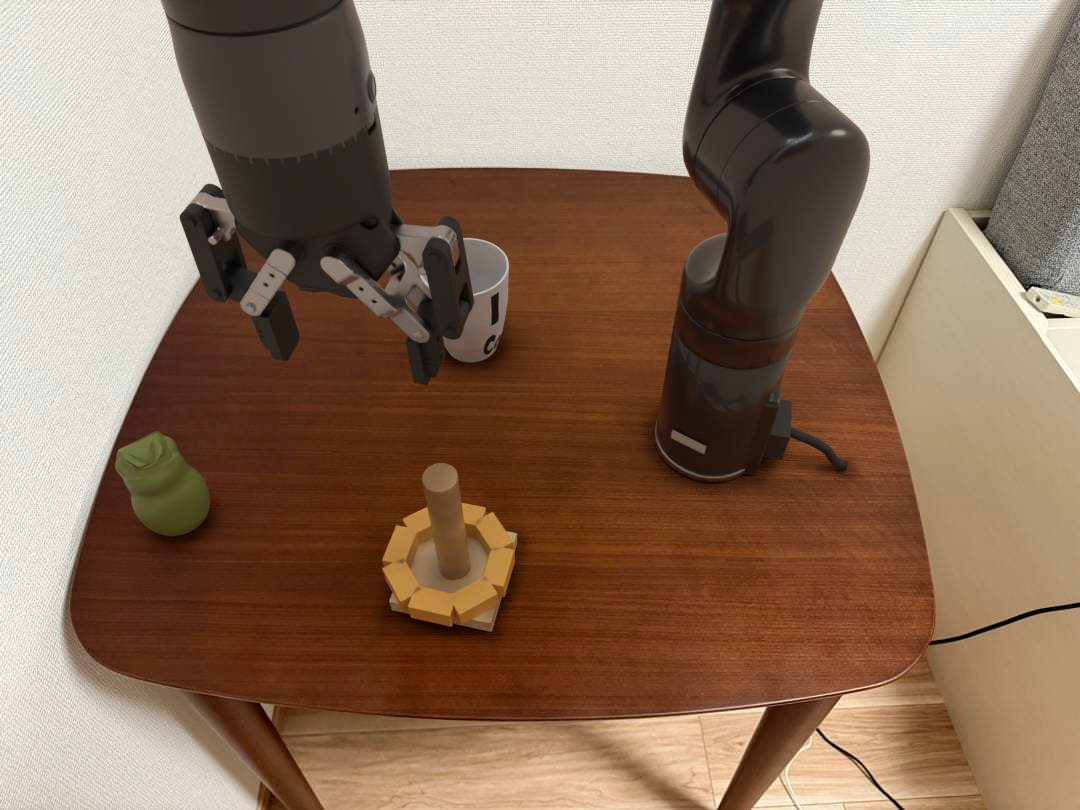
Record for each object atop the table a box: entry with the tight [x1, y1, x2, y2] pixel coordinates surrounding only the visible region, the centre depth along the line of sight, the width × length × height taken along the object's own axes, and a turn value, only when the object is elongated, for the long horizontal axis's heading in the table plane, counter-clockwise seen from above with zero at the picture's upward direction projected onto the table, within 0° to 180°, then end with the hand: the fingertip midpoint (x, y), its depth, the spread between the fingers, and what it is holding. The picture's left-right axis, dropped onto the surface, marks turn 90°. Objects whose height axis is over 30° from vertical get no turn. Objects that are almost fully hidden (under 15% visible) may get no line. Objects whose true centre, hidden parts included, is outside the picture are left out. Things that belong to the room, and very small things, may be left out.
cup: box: [419, 237, 510, 363], centre depth 78 cm, size 8×8×10 cm
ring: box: [381, 502, 516, 628], centre depth 63 cm, size 10×10×2 cm
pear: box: [114, 430, 211, 537], centre depth 65 cm, size 6×5×10 cm
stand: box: [388, 462, 518, 633], centre depth 60 cm, size 8×8×14 cm
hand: (356, 362), depth 47 cm, fingers open, 8 cm apart
